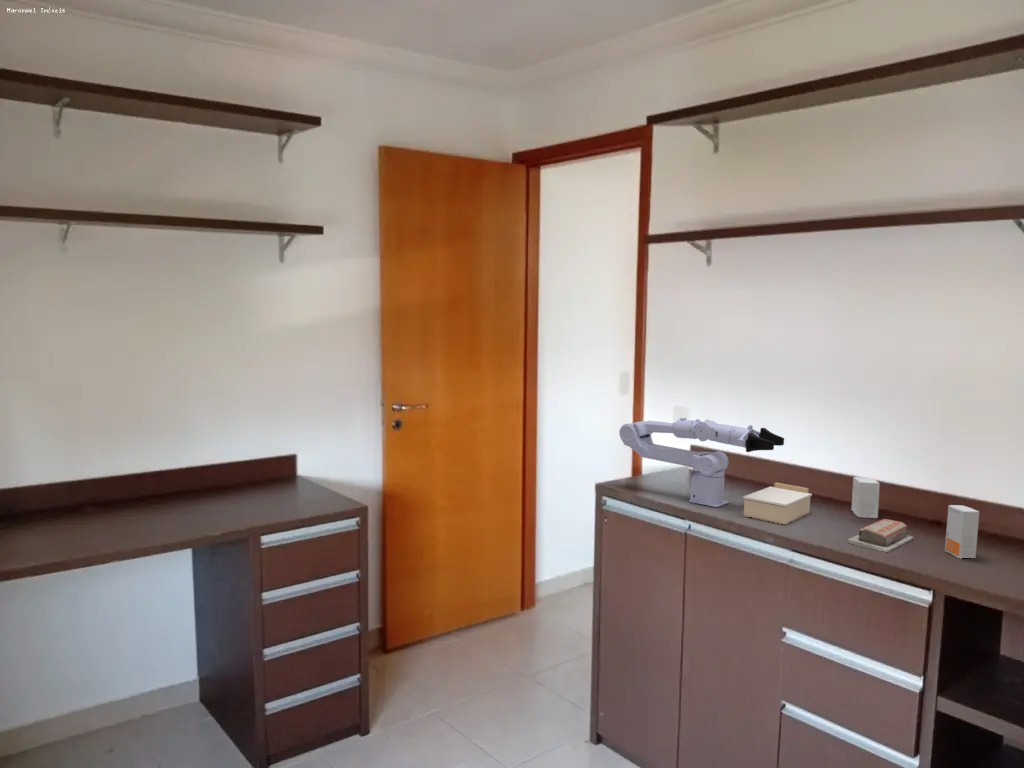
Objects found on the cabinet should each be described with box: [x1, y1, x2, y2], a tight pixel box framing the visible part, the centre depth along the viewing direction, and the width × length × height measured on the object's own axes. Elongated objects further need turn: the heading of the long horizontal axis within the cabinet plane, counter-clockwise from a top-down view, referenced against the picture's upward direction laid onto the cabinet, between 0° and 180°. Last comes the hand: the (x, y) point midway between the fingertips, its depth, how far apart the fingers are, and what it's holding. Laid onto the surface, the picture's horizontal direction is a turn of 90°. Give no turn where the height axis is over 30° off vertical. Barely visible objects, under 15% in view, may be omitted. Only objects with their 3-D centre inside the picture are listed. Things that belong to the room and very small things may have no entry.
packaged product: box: [847, 518, 915, 553], centre depth 200 cm, size 18×5×10 cm
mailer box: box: [743, 496, 811, 525], centre depth 224 cm, size 12×18×5 cm, turn 138°
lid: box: [742, 482, 813, 507], centre depth 224 cm, size 13×19×2 cm, turn 138°
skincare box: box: [944, 504, 980, 560], centre depth 189 cm, size 6×4×12 cm
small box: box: [851, 476, 881, 519], centre depth 226 cm, size 8×6×10 cm
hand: (778, 444), depth 221 cm, fingers open, 7 cm apart
